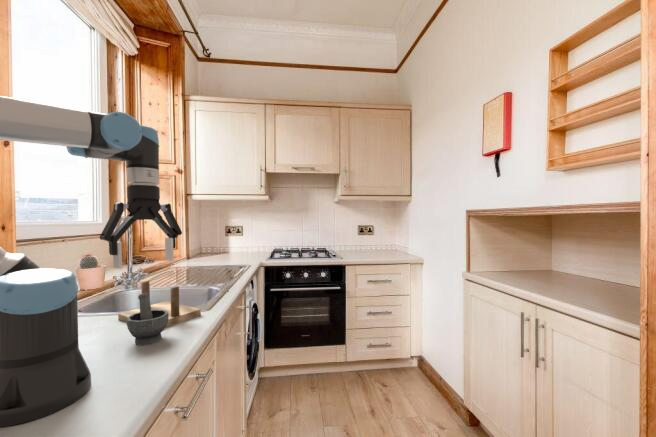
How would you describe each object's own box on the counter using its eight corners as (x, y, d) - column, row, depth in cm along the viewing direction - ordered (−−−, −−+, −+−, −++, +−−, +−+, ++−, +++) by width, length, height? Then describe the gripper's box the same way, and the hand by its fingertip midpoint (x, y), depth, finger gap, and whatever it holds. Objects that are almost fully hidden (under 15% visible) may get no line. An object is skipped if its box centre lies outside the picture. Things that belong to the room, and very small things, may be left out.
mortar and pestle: (172, 341, 82) (171, 296, 82) (131, 351, 76) (129, 303, 76) (162, 329, 90) (161, 289, 90) (124, 338, 84) (123, 295, 84)
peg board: (152, 331, 89) (151, 293, 89) (118, 319, 100) (117, 286, 99) (200, 315, 103) (199, 282, 103) (166, 306, 113) (165, 276, 113)
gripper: (96, 180, 70) (98, 273, 70) (193, 187, 91) (195, 258, 92) (81, 182, 74) (84, 270, 74) (178, 188, 95) (179, 257, 96)
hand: (145, 264), depth 83 cm, fingers open, 13 cm apart
